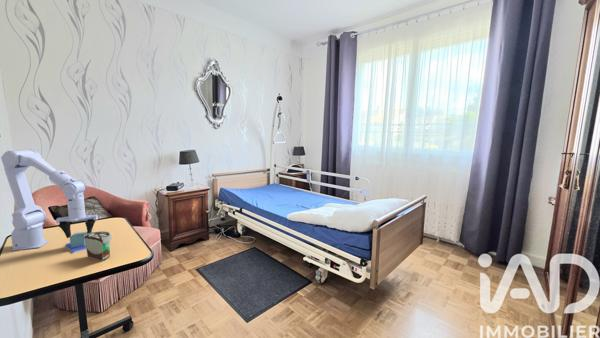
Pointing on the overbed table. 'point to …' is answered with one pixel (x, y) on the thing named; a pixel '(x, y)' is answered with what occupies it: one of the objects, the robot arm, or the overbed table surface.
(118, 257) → the overbed table surface
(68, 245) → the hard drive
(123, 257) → the overbed table surface
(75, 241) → the cube
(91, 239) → the food container
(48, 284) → the overbed table surface
